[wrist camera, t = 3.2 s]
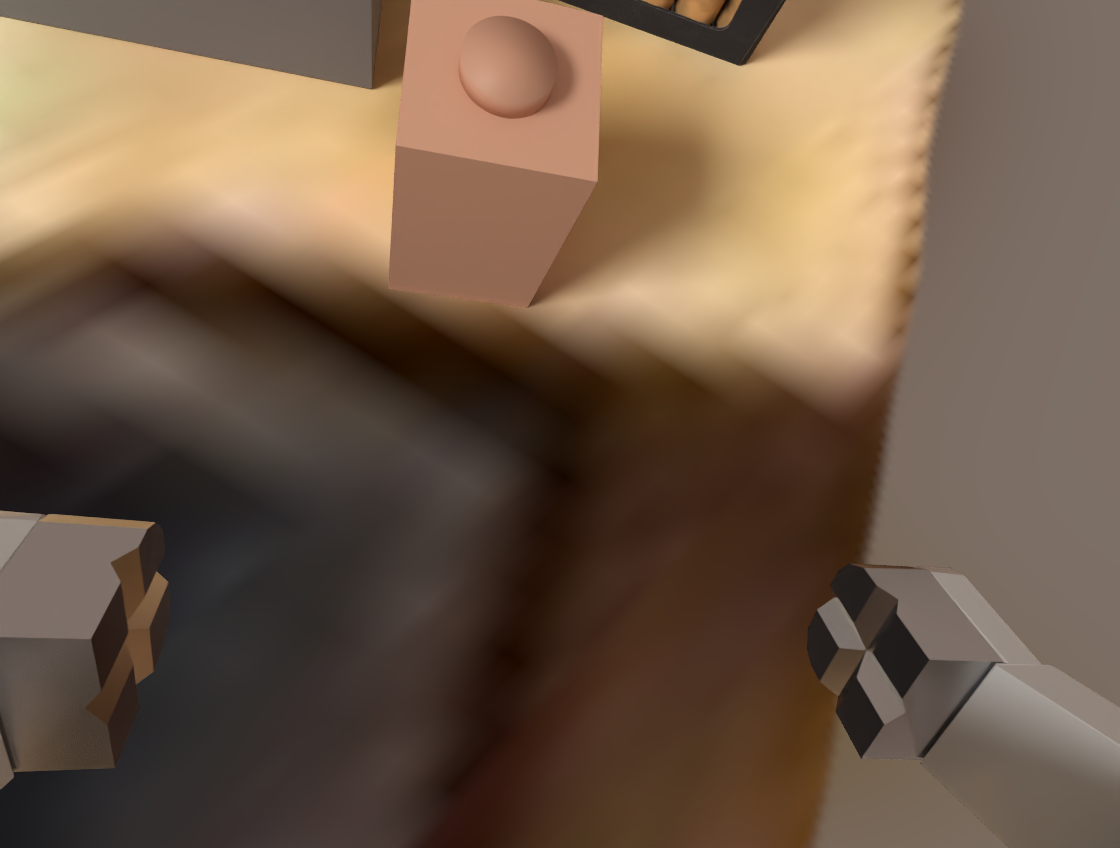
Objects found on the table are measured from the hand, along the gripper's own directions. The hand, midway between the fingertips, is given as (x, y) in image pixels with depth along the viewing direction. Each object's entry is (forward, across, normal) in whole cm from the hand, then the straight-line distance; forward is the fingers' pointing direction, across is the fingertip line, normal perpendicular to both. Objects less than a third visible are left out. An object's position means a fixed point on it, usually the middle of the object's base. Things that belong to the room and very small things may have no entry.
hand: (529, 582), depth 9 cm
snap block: (+18, 0, +2) cm, 18 cm away
